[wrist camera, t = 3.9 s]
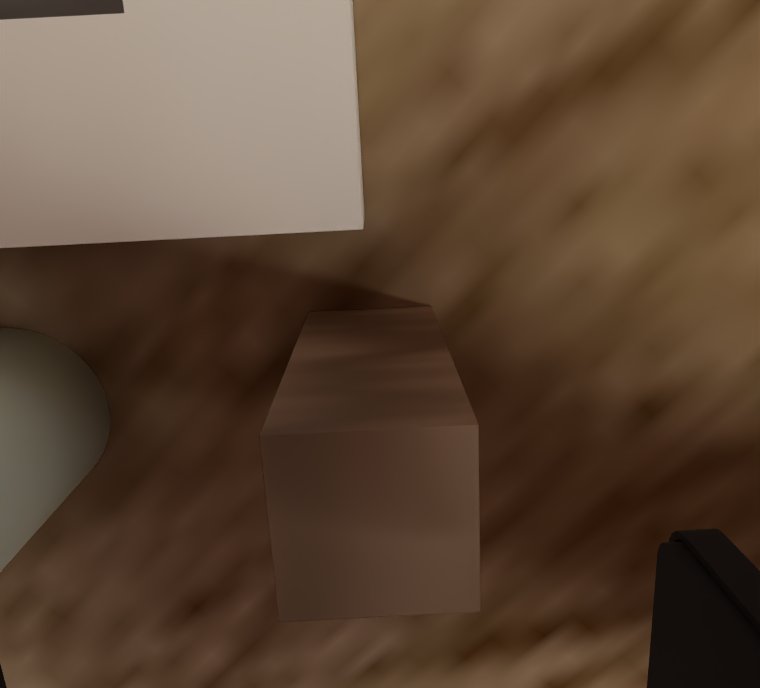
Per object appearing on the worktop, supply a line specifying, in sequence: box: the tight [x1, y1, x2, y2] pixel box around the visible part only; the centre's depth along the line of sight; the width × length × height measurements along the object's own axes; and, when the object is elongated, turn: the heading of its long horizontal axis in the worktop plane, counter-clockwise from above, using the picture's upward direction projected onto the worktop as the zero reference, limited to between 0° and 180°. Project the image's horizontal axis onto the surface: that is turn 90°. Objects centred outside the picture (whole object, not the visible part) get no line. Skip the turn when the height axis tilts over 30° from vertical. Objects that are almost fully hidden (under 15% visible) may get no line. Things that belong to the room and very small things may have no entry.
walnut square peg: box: [259, 306, 481, 622], centre depth 17 cm, size 4×4×10 cm
